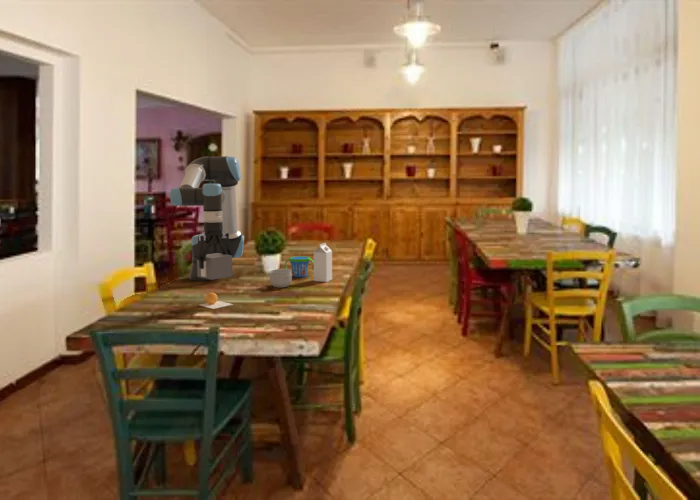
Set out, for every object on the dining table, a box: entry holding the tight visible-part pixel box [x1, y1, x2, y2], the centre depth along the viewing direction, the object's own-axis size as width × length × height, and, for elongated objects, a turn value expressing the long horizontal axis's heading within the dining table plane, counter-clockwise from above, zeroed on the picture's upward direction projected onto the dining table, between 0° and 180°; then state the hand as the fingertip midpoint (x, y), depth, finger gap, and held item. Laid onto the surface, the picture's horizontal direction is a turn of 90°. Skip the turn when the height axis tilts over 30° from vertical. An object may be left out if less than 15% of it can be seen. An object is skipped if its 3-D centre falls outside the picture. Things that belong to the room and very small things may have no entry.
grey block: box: [197, 253, 234, 281], centre depth 241 cm, size 10×10×9 cm
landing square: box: [199, 300, 234, 310], centre depth 243 cm, size 10×10×1 cm
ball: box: [204, 291, 218, 304], centre depth 245 cm, size 5×5×5 cm
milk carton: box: [313, 242, 333, 283], centre depth 295 cm, size 7×7×19 cm
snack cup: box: [284, 255, 314, 278], centre depth 306 cm, size 16×10×10 cm
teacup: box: [268, 268, 293, 289], centre depth 282 cm, size 14×11×8 cm
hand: (214, 274), depth 242 cm, fingers closed on grey block, 10 cm apart
